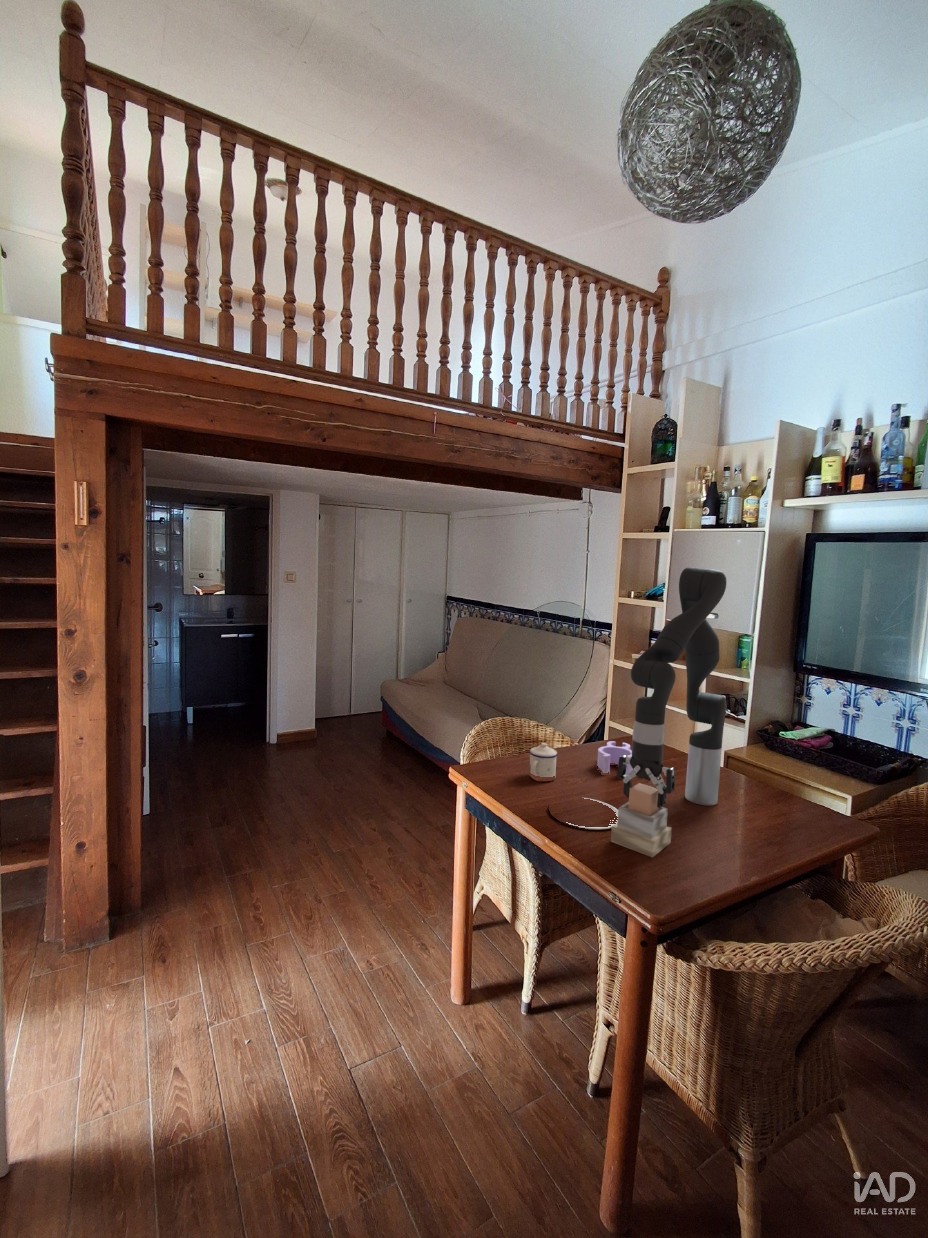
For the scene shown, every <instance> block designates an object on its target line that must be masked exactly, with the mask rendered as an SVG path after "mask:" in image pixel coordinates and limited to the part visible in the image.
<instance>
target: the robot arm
mask: <svg viewBox="0 0 928 1238" xmlns="http://www.w3.org/2000/svg"><path fill="white" fill-rule="evenodd" d="M678 580H679V582H678V593H679V601H680V606H681V613H680V614H678V615H677V616H675V617H674V618H672V619H670V620H669V622H667V623H666V624H665V625H664V627H662V630H661V631H660V633H659V634H658V636H657V637H656V639H655V641H654V643H653V644H652V645H650V647H648V648H647V649H646V650H645V651H644V652H643V653H642V654H641V655H639V657H637V659H636V660H635V661H634V663H633V664H632V667H631V670H630V679H631V681H632V683H633V684H635V685H637V686H638V687H641V688H647V689H651V690H653V692H652V695H651V696H640V697H639V698H637V699H636V702H635V703H636V704H635V715H634V723H633V727H632V733H631V734H632V736H631V737H632V742H631V743H632V744H631V750H632V757H631V758H630V757H628V756H627V755H623V756H621V757H619V764H618V766H617V771H616V777H617V779H619V780H621V781H622V782H623V791H622V792H623V795H624V797H625V798H627V799H629V792H630V788H631V787H633V782H632V780H633V779H634V778H635V777H637V778H638V779H644V780H645V781H648V782H650V781H651V782H652V784H653V786H654V787H655V788H657V789H658V791H659V793H658V801H657V807H658V808H661V807H664V806H665V805H666V803H667V794H668V795H669V794H672V793H673V792H674V791H675V790H676V768H675V767H673V766H672V767H667V766H664V764H663V760H664V746H665V734H666V733H665V731H666V730H665V719H666V707H667V704H668V701H669V698H670V695H671V692H672V690H673V687H674V685H675V682H676V678H677V677H676V671H675V668H674V666H673V665H672V664H670V663H674V662H677V661H678V660H679V658H680V657H681V656H682V654H683V652H684V658H685V668H686V669H685V670H686V704H685V705H686V715H687V718H688V719H689V720H690V721H692V722H695V723H701V724H707V725H711V727H710V728H709V729H706V730H701V731H695V732H694V731H693V732H692V733H690V735H689V739H688V743H689V744H688V755H687V768H686V777H685V778H686V779H685V791H684V797H685V799H686V800H687V801H689V802H691V803H694V804H697V805H701V806H714V805H717V804H718V799H719V798H718V797H719V787H720V786H719V785H720V774H721V761H722V760H721V759H722V748H723V735H724V728H725V727H724V726H725V719H726V713H727V700H726V697H725V696H724V695H721V694H715V693H709V692H702V691H700V687H701V686H702V684H703V682H704V681H705V680H706V678H707V677H709V676H710V675H711V673H712V672H713V671H714V670H715V669H716V667H717V666H718V664H719V661H720V640H719V637H718V635H717V633H716V631H715V630H714V627H712V625H711V624H710V623H709V621H708V620H707V618H708V617H709V615H710V614H711V613H712V611H714V609H715V608H716V607H717V605H718V604H719V603H720V601H721V600H722V598H723V597H724V595H725V592H726V588H727V577H726V574H725V573H724V572H723V571H721V570H719V569H718V570H717V569H713V568H705V567H704V568H703V567H696V566H695V567H694V566H687V567H685V568H684V569H683V570H682V572H681V573H680V576H679V579H678ZM629 762H630V765H631V767H632V769H633V770H632V771H631V772H630V773H629V774H628V775H626V767H627V764H629ZM662 773H663V774H664V777H666V778H665V780H664V778H663V776H662V775H661V774H662ZM665 782H666V783H665Z"/></svg>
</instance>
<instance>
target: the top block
mask: <svg viewBox="0 0 928 1238" xmlns="http://www.w3.org/2000/svg"><path fill="white" fill-rule="evenodd" d="M658 793H659V791H658V789H657V788H656V787H655V786H654V787H653V786H651V785H647V784H644V783H640V782H639V783H637V784H635V785H634V786H633V785H632V787H631V788H630V792H629V798H628V802H629V806H628V809H629V810H632V811H635V812H638V813H641V814H644V815H647V816H650V817H651V816H653V815H654V814H656V813H657V812H658V809H659V808H658V807H657V801H658Z"/></svg>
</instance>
